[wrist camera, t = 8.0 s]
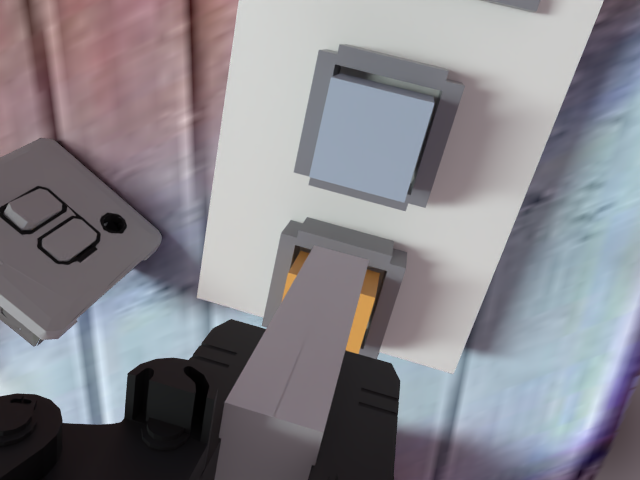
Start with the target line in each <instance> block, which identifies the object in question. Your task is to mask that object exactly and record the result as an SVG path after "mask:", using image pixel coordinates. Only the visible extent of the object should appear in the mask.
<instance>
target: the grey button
mask: <svg viewBox="0 0 640 480" xmlns="http://www.w3.org/2000/svg"><path fill="white" fill-rule="evenodd" d="M434 104H435V103H434V98H433V96H430V95H426V94H422V93H419V92H415V91H411V90H407V89H403V88H399V87H395V86H391V85H387V84H383V83H379V82H375V81H371V80H367V79H363V78H359V77H355V76H351V75H347V74H343V73H340V74H337V75H335V76H332V77H331V79H330V84H329V88H328V93H327V97H326V102H325V106H324V111H323V116H322V120H321V125H320V129H319V134H318V138H317V143H316V147H315V152H314V157H313V161H312V166H311V170H310V175H309V177H311V178H315V179H318V180H322V181H326V182H329V183H333V184H337V185H341V186H344V187H348V188H352V189H355V190H359V191H363V192H367V193H370V194H374V195H378V196H381V197H385V198H389V199H392V200H396V201H400V202H405V199H406V196H407V192H408V189H409V186H410V183H411V179H412V176H413V173H414V169H415V166H416V163H417V160H418V156H419V153H420V150H421V146H422V143H423V140H424V136H425V133H426V130H427V127H428V123H429V120H430V117H431V113H432V110H433V107H434Z"/></svg>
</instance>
